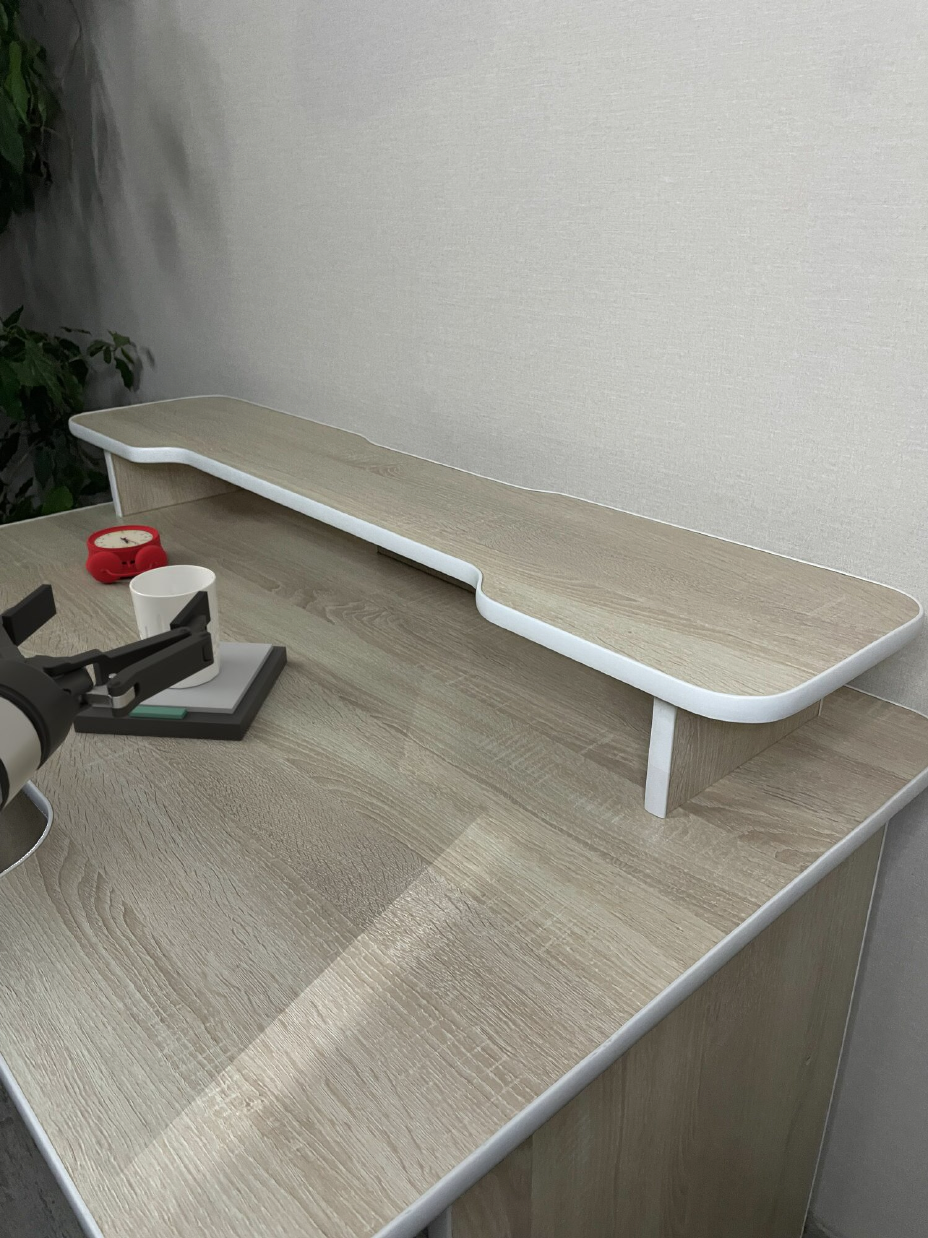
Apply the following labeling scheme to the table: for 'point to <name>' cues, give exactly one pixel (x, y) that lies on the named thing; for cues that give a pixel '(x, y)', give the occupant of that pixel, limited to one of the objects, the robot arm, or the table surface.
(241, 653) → the scale
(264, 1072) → the table surface
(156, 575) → the white cup
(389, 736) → the table surface
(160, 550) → the alarm clock
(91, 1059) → the table surface
